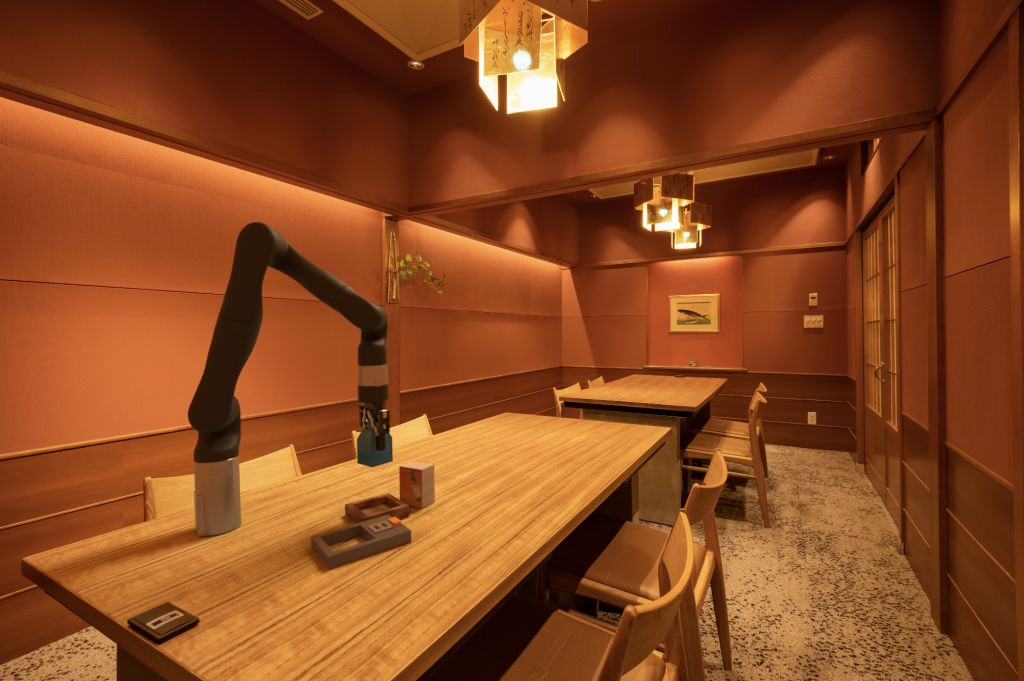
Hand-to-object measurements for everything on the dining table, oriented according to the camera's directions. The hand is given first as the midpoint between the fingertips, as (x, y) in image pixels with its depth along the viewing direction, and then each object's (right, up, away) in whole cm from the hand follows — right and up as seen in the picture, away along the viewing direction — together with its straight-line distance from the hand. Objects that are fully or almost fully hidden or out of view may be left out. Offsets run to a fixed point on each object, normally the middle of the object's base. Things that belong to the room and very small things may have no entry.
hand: (374, 447), depth 117 cm
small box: (+9, -18, +9) cm, 22 cm away
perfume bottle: (0, -4, 0) cm, 4 cm away
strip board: (+2, -18, -15) cm, 24 cm away
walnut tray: (0, -18, 0) cm, 18 cm away
